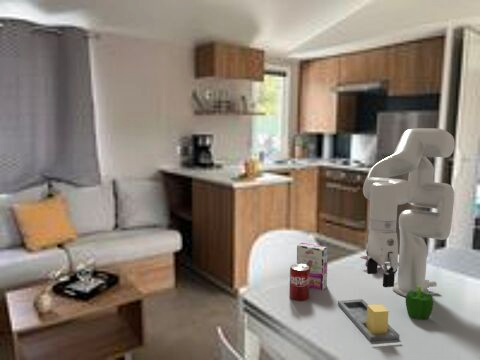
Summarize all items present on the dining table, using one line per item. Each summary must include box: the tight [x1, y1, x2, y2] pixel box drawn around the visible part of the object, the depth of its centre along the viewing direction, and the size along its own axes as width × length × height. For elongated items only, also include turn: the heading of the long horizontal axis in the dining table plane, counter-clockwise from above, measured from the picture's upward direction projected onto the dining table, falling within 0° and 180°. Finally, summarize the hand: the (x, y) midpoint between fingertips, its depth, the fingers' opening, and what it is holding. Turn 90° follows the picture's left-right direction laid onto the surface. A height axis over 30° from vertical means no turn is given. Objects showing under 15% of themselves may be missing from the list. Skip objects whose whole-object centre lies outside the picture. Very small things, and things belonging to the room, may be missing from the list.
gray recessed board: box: [337, 298, 400, 343], centre depth 126 cm, size 9×24×2 cm, turn 9°
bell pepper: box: [405, 285, 434, 320], centre depth 129 cm, size 8×8×10 cm
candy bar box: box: [296, 242, 329, 291], centre depth 153 cm, size 11×5×16 cm, turn 56°
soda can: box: [288, 263, 311, 302], centre depth 142 cm, size 7×7×12 cm
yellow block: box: [366, 303, 390, 334], centre depth 119 cm, size 4×4×8 cm
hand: (379, 279), depth 117 cm, fingers open, 9 cm apart
